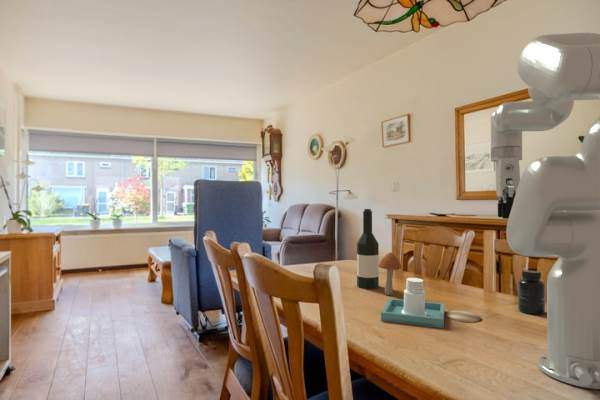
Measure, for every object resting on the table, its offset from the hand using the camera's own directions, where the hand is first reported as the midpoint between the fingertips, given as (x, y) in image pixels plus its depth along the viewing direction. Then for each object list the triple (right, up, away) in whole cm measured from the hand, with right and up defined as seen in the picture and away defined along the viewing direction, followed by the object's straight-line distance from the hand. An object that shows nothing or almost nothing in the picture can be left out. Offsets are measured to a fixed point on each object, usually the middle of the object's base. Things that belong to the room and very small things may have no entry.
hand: (506, 217), depth 101 cm
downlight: (-24, -28, +5) cm, 37 cm away
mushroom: (-25, -29, +29) cm, 48 cm away
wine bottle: (-30, -29, +42) cm, 59 cm away
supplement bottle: (+12, -29, +9) cm, 32 cm away
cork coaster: (-10, -28, +4) cm, 30 cm away
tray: (-24, -28, +5) cm, 37 cm away
